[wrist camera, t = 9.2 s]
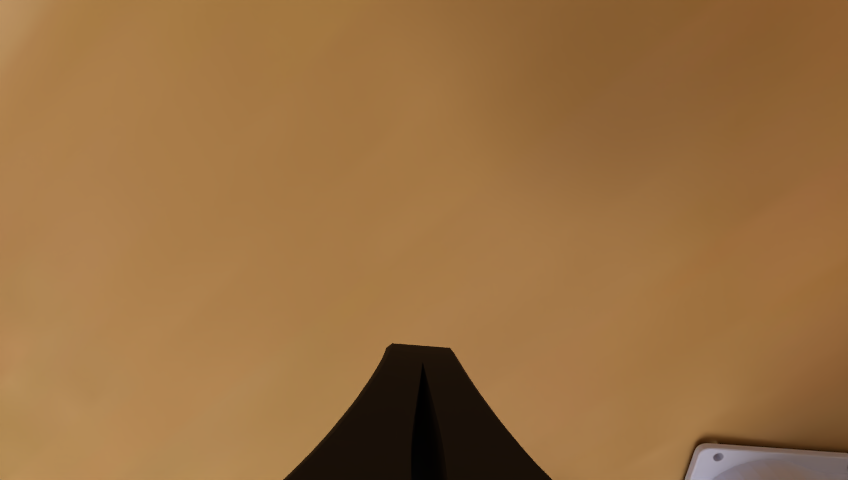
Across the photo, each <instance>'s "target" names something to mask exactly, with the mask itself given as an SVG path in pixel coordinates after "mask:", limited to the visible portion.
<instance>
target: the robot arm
mask: <svg viewBox="0 0 848 480" xmlns="http://www.w3.org/2000/svg"><path fill="white" fill-rule="evenodd" d="M283 480H552V479H551V478H550V477H549V476H548V475H547V474H546V473H545V472H544V471H543V470H542V469H541V468H540V467H539V466H538V465H537V464H536V463H535V462H534V461H533V459H532V458H531V457H530V456H529V455H528V454H527V453H526V452H525V450H524V449H523V448H522V447H521V446H520V445H519V443H518V442H517V441H516V440H515V439H514V437H513V436H512V435H511V434H510V433H509V431H508V430H507V429H506V428H505V426H504V425H503V424H502V423H501V421H500V420H499V419H498V417H497V416H496V415H495V413H494V412H493V411H492V409H491V408H490V407H489V405H488V404H487V403H486V401H485V400H484V398H483V397H482V396H481V394H480V393H479V391H478V390H477V389H476V387H475V386H474V384H473V383H472V381H471V380H470V378H469V377H468V375H467V373H466V372H465V370H464V369H463V367H462V365H461V364H460V362H459V361H458V359H457V357H456V356H455V354H454V352H453V351H452V350H451V349H450V348H444V347H431V346H419V345H406V344H393V343H392V344H391V345H390V346H388V347H387V348H386V351H385V353H384V355H383V358H382V360H381V362H380V363H379V365H378V367H377V369H376V370H375V372H374V373H373V375H372V377H371V378H370V380H369V381H368V383H367V384H366V385H365V387H364V388H363V390H362V391H361V393H360V394H359V396H358V397H357V398H356V400H355V401H354V402H353V404H352V405H351V406H350V408H349V409H348V410H347V411H346V412H345V414H344V415H343V416H342V417H341V419H340V420H339V421H338V422H337V423H336V425H335V426H334V427H333V428H332V430H331V431H330V432H329V433H328V434H327V435H326V437H325V438H324V439H323V440H322V441H321V442H320V443H319V444H318V445H317V446H316V447H315V449H314V450H313V451H312V452H311V453H310V454H309V455H308V456H307V457H306V458H305V459H304V460H303V461H302V462H301V463H300V464H299V465H298V466H297V467H296V468H295V469H294V470H293V471H292V472H291V473H290V474H289V475H288V476H287V477H286V478H285V479H283ZM685 480H848V453H838V452H824V451H810V450H796V449H782V448H768V447H754V446H740V445H726V444H712V443H703V444H700V445H699V446H697V447H696V449H695V451H694V454H693V457H692V460H691V463H690V466H689V469H688V472H687V474H686V477H685Z"/></svg>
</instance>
